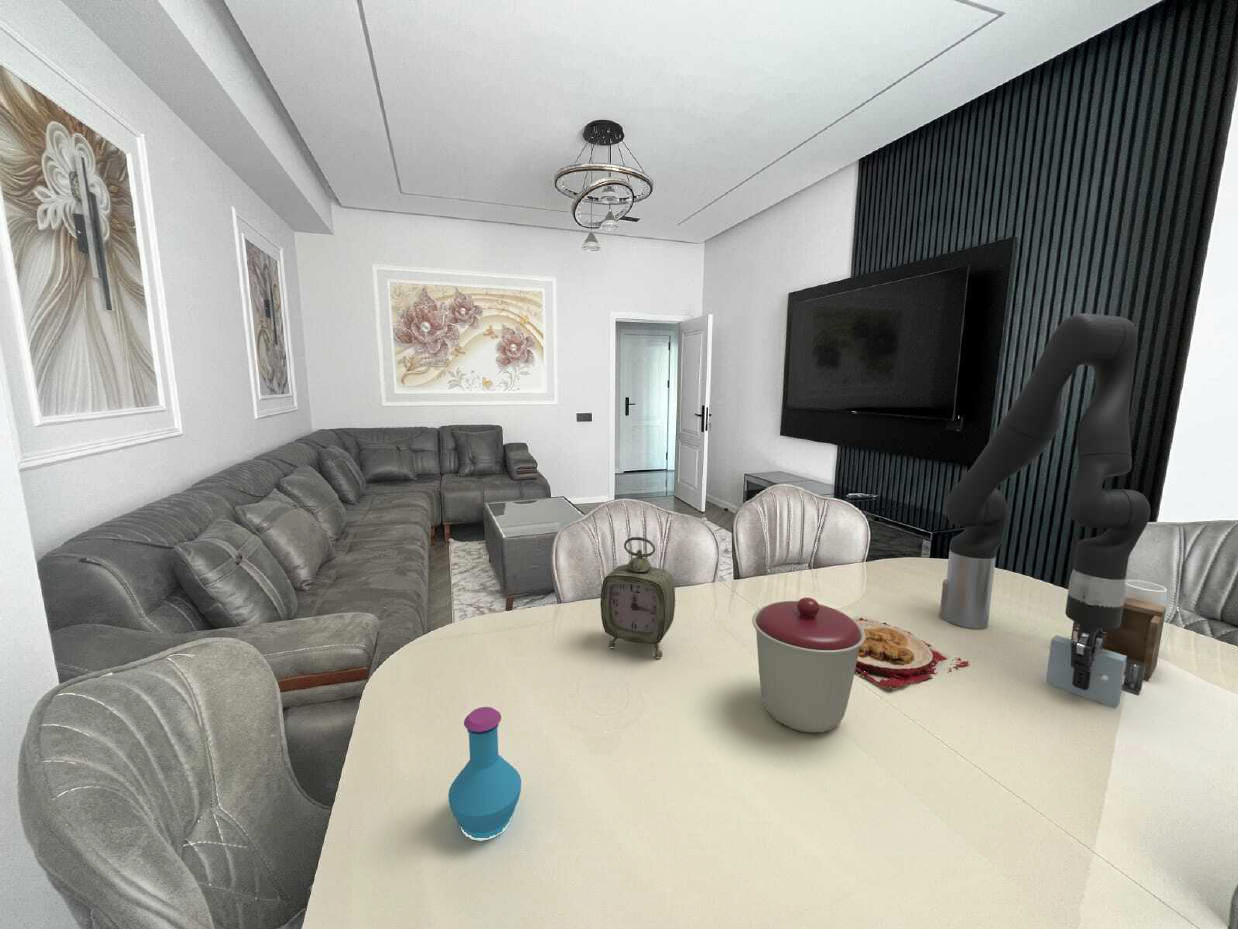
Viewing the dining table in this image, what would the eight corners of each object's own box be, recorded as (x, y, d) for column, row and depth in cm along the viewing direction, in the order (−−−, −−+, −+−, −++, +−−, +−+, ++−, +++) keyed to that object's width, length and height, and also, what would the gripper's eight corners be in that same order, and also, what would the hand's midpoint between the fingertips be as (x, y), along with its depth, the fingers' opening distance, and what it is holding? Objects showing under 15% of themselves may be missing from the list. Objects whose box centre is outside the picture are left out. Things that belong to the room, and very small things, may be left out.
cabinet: (1068, 656, 110) (1076, 598, 108) (1079, 643, 115) (1087, 588, 113) (1148, 681, 100) (1158, 618, 98) (1156, 666, 106) (1166, 606, 104)
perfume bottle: (458, 794, 72) (453, 695, 70) (525, 790, 73) (522, 692, 71) (441, 853, 63) (435, 741, 61) (518, 847, 64) (515, 737, 62)
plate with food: (888, 698, 96) (890, 680, 96) (787, 633, 120) (788, 619, 119) (970, 670, 106) (973, 654, 106) (862, 615, 130) (864, 602, 130)
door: (1043, 684, 99) (1049, 640, 98) (1050, 677, 102) (1055, 634, 100) (1114, 710, 91) (1122, 663, 90) (1119, 702, 94) (1126, 656, 92)
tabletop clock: (600, 650, 112) (600, 538, 108) (616, 632, 120) (616, 528, 116) (664, 664, 106) (666, 546, 103) (676, 644, 115) (678, 535, 111)
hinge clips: (1060, 669, 105) (1063, 645, 104) (1063, 664, 107) (1067, 641, 106) (1138, 695, 96) (1142, 670, 95) (1141, 690, 98) (1145, 665, 97)
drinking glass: (1165, 660, 108) (1177, 592, 106) (1127, 657, 110) (1138, 589, 107) (1140, 645, 115) (1151, 580, 113) (1105, 641, 116) (1114, 578, 114)
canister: (853, 694, 96) (861, 586, 93) (864, 760, 79) (875, 630, 76) (752, 676, 102) (757, 574, 99) (743, 734, 85) (748, 613, 82)
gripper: (1078, 582, 101) (1067, 664, 104) (1058, 599, 93) (1046, 688, 95) (1131, 594, 95) (1118, 680, 98) (1114, 613, 87) (1100, 708, 89)
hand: (1082, 684), depth 97 cm, fingers closed on door, 3 cm apart
